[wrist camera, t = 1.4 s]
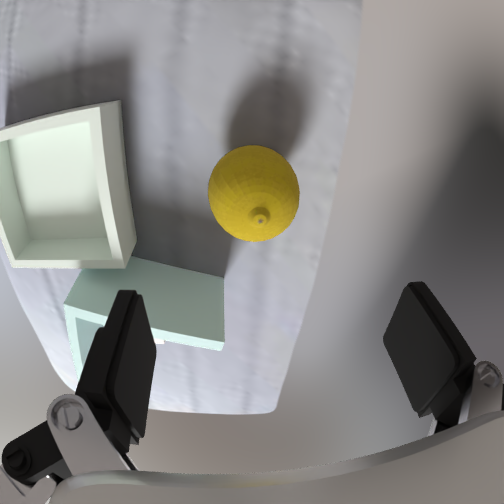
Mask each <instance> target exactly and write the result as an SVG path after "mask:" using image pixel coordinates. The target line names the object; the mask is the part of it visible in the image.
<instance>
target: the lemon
mask: <svg viewBox="0 0 504 504" xmlns="http://www.w3.org/2000/svg"><path fill="white" fill-rule="evenodd" d="M299 194H300V191H299V185H298V181H297V177H296V174H295V173H294V171H293V169H292V167H291V165H290V164H289V163H288V162H287V161H286V160H285V159H284V158H283V156H281V155H280V154H279V153H277V152H275V151H274V150H272V149H270V148H266V147H263V146H258V145H247V146H243V147H238V148H236V149H234V150H232V151H230V152H228V153H227V154H226V155H225V156H224V157H222V158H221V159H220V160H219V162H218V163H217V165H216V166H215V167H214V169H213V171H212V174H211V177H210V180H209V187H208V198H209V202H210V207H211V210H212V212H213V214H214V216H215V218H216V220H217V222H218V223H219V224H220V225H221V226H222V227H223V229H224V230H225V231H227V232H228V233H229V234H231V235H233V236H234V237H236V238H239V239H242V240H244V241H253V242H257V241H265V240H268V239H271V238H274V237H275V236H277V235H279V234H280V233H282V232H283V231H284V230H285V229H286V228H287V227H288V226H289V225H290V224H291V222H292V221H293V219H294V217H295V215H296V212H297V209H298V206H299Z"/></svg>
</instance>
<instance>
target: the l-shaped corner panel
mask: <svg viewBox="0 0 504 504" xmlns="http://www.w3.org/2000/svg"><path fill="white" fill-rule="evenodd" d="M119 290H136V291H137V294H141V295H142V297H143V300H144V304H145V308H146V312H147V316H148V320H149V324H150V327H151V331H152V335H153V338H154V342H155V344H156V343H157V344H165V341H171V342H176V343H181V344H186V345H191V346H196V347H201V348H207V349H212V350H218V351H221V349H222V347H223V345H224V343H225V338H224V278H222V277H218V276H213V275H209V274H205V273H200V272H196V271H192V270H187V269H183V268H179V267H174V266H170V265H166V264H162V263H158V262H154V261H149V260H145V259H141V258H137V257H133V256H130V258H129V261H128V263H127V265H126V268H125V269H82V271H81V272H80V274H79V276H78V278H77V279H76V281H75V283H74V285H73V287H72V289H71V291H70V292H69V294H68V296H67V298H66V300H65V302H64V311H65V318H66V325H67V331H68V336H69V342H70V347H71V352H72V357H73V361H74V366H75V370H76V375H77V379H78V382H79V379H80V376H81V373H82V370H83V367H84V364H85V361H86V358H87V355H88V352H89V350H90V347H91V344H92V341H93V339H94V336H95V333H96V331H97V329H98V328H99V327H103V325H105V323H106V321H107V318H108V315H109V313H110V310H111V308H112V305H113V302H114V300H115V297H116V295H117V292H118V291H119Z"/></svg>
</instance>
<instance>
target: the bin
mask: <svg viewBox="0 0 504 504" xmlns="http://www.w3.org/2000/svg"><path fill="white" fill-rule="evenodd" d="M0 237H1V240H2V243H3V245H4V248H5V251H6V253H7V256H8V258H9V261H10V263H11V266H12V268H82V269H125V268H126V265H127V263H128V261H129V258H130V256H131V254H132V251H133V249H134V247H135V245H136V242H137V235H136V229H135V223H134V217H133V211H132V204H131V197H130V190H129V182H128V174H127V166H126V156H125V146H124V135H123V121H122V105H121V100H117V101H110V102H104V103H98V104H92V105H87V106H82V107H77V108H72V109H67V110H63V111H58V112H54V113H50V114H46V115H42V116H38V117H35V118H31V119H27V120H24V121H21V122H17V123H14V124H11V125H8V126H5V127H2V128H0Z"/></svg>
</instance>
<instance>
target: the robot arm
mask: <svg viewBox="0 0 504 504" xmlns="http://www.w3.org/2000/svg"><path fill="white" fill-rule="evenodd" d="M383 342H384V345H385V347H386V349H387V351H388V354H389V356H390V358H391V360H392V362H393V364H394V367H395V369H396V371H397V373H398V375H399V378H400V380H401V382H402V384H403V387H404V389H405V391H406V393H407V396H408V398H409V401H410V403H411V405H412V408H413V410H414V411H416V412H417V413H418V416H419V418H420V417H423V416H426V415H429V414H431V413H433V415H434V418H433V421H432V425H431V428H430V431H429V434H428V437H425V438H423V439H420V440H417V441H414V442H411V443H408V444H405V445H402V446H399V447H396V448H392V449H389V450H385V451H382V452H378V453H375V454H371V455H367V456H363V457H359V458H354V459H350V460H346V461H340V462H335V463H330V464H325V465H319V466H313V467H306V468H299V469H292V470H284V471H273V472H262V473H247V474H246V473H245V474H181V473H180V474H179V473H164V472H147V471H139V469H138V468H137V467H136V465H135V464H134V463H133V461H132V460H131V458H130V457H129V456H128V454H127V452H129V446H130V444H136V445H138V444H139V438H143V437H144V434H145V428H146V419H147V411H148V405H149V398H150V391H151V385H152V378H153V372H154V366H155V360H156V345H155V342H154V338H153V335H152V331H151V327H150V324H149V320H148V316H147V312H146V308H145V304H144V300H143V297H142V295H141V294H137V291H136V290H119V291H118V292H117V295H116V297H115V300H114V302H113V305H112V308H111V310H110V313H109V315H108V318H107V321H106V323H105V326H104V327H99V328H98V329H97V331H96V333H95V336H94V339H93V341H92V344H91V347H90V350H89V352H88V355H87V358H86V361H85V364H84V367H83V370H82V373H81V376H80V379H79V382H78V386H77V389H76V392H75V395H74V394H64V395H62V396H59V397H57V398H56V399H54V400H53V402H52V403H51V404H50V406H49V408H48V410H47V420H46V421H45V422H43V423H41V424H40V425H38V426H36V427H35V428H33V429H31V430H30V431H28V432H26V433H25V434H23V435H21V436H19V437H18V438H16V439H14V440H13V441H11V442H10V443H8V444H7V445H6V446H5V448H4V450H3V453H2V465H1V466H0V504H45V502H46V501H47V500H48V499H49V498H50V497H51V499H50V502H49V504H504V384H503V378H502V374H501V372H500V370H499V369H498V367H497V366H495V365H494V364H493V363H491V362H489V361H480V362H478V363H477V364H476V366H475V365H474V361H475V360H476V357H475V355H474V354H473V352H472V351H471V349H470V347H469V346H468V344H467V343H466V341H465V340H464V338H463V336H462V335H461V333H460V332H459V330H458V329H457V327H456V326H455V324H454V323H453V321H452V320H451V318H450V317H449V316H448V314H447V313H446V311H445V310H444V309H443V307H442V306H441V304H440V303H439V301H438V300H437V299H436V297H435V296H434V295H433V293H432V292H431V291H430V289H429V288H428V287H427V285H426V284H425V283H424V282H422V281H421V282H410V283H408V285H407V286H406V287H405V288H404V289H403V292H402V294H401V297H400V299H399V302H398V304H397V307H396V309H395V311H394V314H393V316H392V318H391V320H390V323H389V325H388V327H387V329H386V332H385V334H384V336H383Z"/></svg>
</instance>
